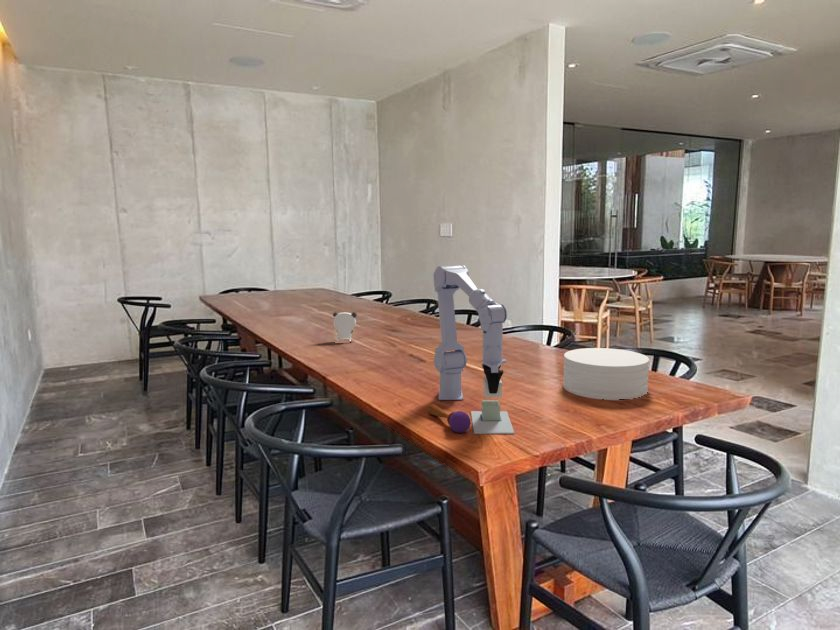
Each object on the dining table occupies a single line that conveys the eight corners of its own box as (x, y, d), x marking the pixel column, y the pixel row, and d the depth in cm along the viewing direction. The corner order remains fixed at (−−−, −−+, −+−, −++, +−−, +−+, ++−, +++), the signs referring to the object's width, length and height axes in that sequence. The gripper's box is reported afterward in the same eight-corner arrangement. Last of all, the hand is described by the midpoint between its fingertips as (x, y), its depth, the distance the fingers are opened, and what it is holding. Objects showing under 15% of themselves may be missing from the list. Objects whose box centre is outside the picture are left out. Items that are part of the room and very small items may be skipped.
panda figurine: (357, 339, 288) (357, 310, 285) (356, 343, 276) (355, 313, 274) (334, 339, 287) (333, 310, 285) (332, 344, 276) (331, 314, 274)
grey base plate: (470, 412, 171) (470, 411, 171) (506, 412, 170) (506, 411, 170) (474, 433, 153) (474, 432, 153) (514, 433, 153) (514, 432, 152)
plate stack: (547, 383, 202) (548, 352, 201) (609, 374, 213) (610, 345, 211) (598, 405, 177) (600, 370, 175) (666, 394, 187) (668, 361, 185)
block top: (483, 392, 167) (483, 378, 167) (500, 392, 167) (500, 378, 166) (484, 397, 162) (484, 382, 162) (501, 397, 162) (502, 382, 161)
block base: (481, 414, 167) (481, 400, 166) (498, 414, 167) (498, 400, 166) (482, 420, 162) (482, 405, 161) (499, 420, 162) (500, 405, 161)
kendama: (441, 400, 171) (475, 413, 153) (439, 419, 171) (473, 435, 153) (424, 399, 169) (457, 413, 151) (422, 418, 169) (454, 435, 151)
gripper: (509, 350, 155) (508, 397, 157) (503, 340, 169) (503, 383, 171) (483, 350, 155) (483, 397, 157) (480, 340, 170) (480, 383, 172)
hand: (492, 390), depth 164 cm, fingers closed on block top, 5 cm apart
